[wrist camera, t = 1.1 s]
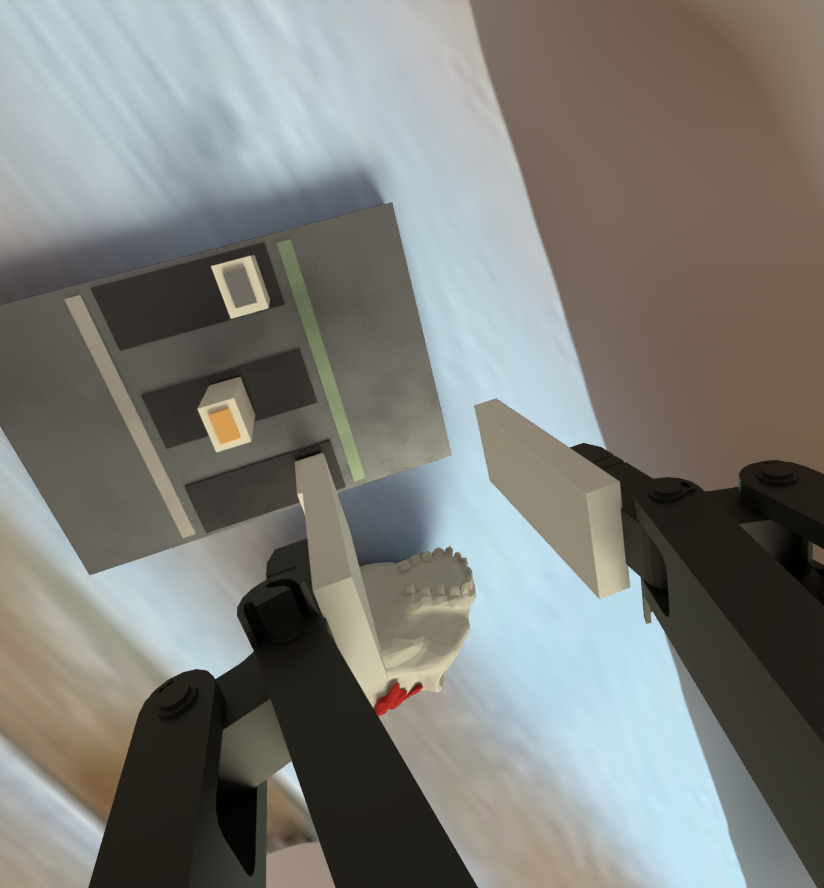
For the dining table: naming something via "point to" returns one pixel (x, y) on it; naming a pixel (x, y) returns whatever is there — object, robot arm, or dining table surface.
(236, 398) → the breaker mid
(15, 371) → the panel
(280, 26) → the dining table surface
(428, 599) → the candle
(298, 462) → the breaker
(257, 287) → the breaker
